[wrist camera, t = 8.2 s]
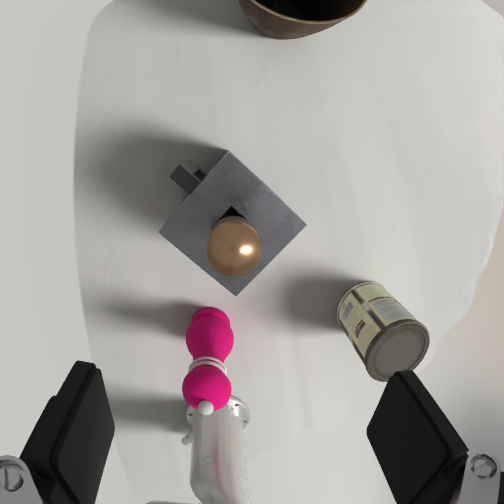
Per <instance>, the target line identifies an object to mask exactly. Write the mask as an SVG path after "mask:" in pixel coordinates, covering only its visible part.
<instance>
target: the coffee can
mask: <svg viewBox="0 0 504 504" xmlns="http://www.w3.org/2000/svg"><path fill="white" fill-rule="evenodd" d="M337 320H338V322H339V324H340V326H341V327H342V328H343V330H344V332H345V333H346V335H347V337H348V338H349V340H350V342H351V343H352V345H353V346H354V348H355V350H356V351H357V353H358V355H359V356H360V358H361V360H362V361H363V363H364V365H365V366H366V370H367V372H368V374H369V375H370V376H371V377H372V378H373V379H375V380H377V381H381V382H388V380H389V378H390V377H391V376H393V374H394V373H395V372H397V371H404V370H414V369H415V368H416V367H417V366H418V365H419V363H420V362H421V361H422V359H423V358H424V356H425V354H426V352H427V350H428V347H429V340H430V338H429V333H428V330H427V329H426V327H425V326H424V325H423V324H421V323H420V322H419V321H418V320H417V319H416V318H415V317H414V316H413V315H412V314H411V313H410V312H408V311H407V310H406V309H405V308H404V307H403V306H402V305H401V304H400V303H399V302H398V301H397V300H396V299H395V298H394V297H393V296H392V295H391V294H390V293H389V292H388V291H387V290H386V289H385V288H384V286H382V285H381V284H379V283H376V282H363V283H360V284H357V285H355V286H354V287H352V288H351V289H349V290H348V291H347V292H346V293H345V294H344V296H343V297H342V299H341V300H340V302H339V305H338V308H337Z"/></svg>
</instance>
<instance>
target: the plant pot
mask: <svg viewBox="0 0 504 504" xmlns="http://www.w3.org/2000/svg"><path fill="white" fill-rule="evenodd" d="M239 2H240V5H241V7H242V9H243V10H244V12H245V14H246V16H247V17H248V19H249V20H250V21H251V23H252V24H253V25H254V26H255V27H256V28H257V29H258V30H259V31H260V32H261V33H263V34H264V35H266V36H268V37H270V38H274V39H295V38H300V37H305V36H308V35H311V34H314V33H317V32H320V31H323V30H325V29H327V28H329V27H332V26H334V25H335V24H337V23H339V22H341V21H343V20H345V19H347V18H349V17H351V16H352V15H354V14H356V13H357V12H358V11H359V10H360V9H361V8H362V7H363V6H364V5H365V3H366V2H367V0H239ZM275 3H277V4H279V5H275Z"/></svg>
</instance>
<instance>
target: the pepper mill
mask: <svg viewBox="0 0 504 504" xmlns="http://www.w3.org/2000/svg"><path fill="white" fill-rule="evenodd" d="M233 340H234V337H233V332H232V329H231V328H230V321H229V319H228V317H227V315H226V314H225V313H224V312H222V311H221V310H219V309H216V308H204V309H201V310H199V311H198V312H197V313H196V314H195V315H194V316H193V318H192V322H191V325H190V326H189V327H188V330H187V333H186V344H187V347H188V350H189V352H190V353H191V355H192V356H193V362H192V363H191V364H190V366H189V371H188V374H187V375H186V377H185V378H184V381H183V385H182V392H183V396H184V398H185V400H186V402H187V403H188V404H189V405H190V406H191V407H193V408H194V409H196V410H198V411H199V412H200V413H201V414H203V415H210V414H211V413H212V412H213V411H216V410H219V409H221V408H222V407H224V406H225V405H226V404H227V402H228V401H229V399H230V396H231V383H230V381H229V379H228V378H227V369H226V367H225V365H224V364H223V363H224V360H225V358H226V357H227V356H228V355H229V353H230V351H231V349H232V346H233Z"/></svg>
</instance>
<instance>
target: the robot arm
mask: <svg viewBox="0 0 504 504" xmlns="http://www.w3.org/2000/svg"><path fill="white" fill-rule="evenodd" d="M186 417H187V421H188V423H189V424H190V425H191V427H192V430H191V431H190V432H189V434H188V435H186V436H185V437H183V438H182V443H183V444H184V445H189V444H190V443H192V453H191V469H190V485H191V488H192V490H193V492H194V494H195V495H196V497H197V498H198V499H199V500H200V501H201V503H202V504H251V503H250V499H249V491H248V482H247V473H246V461H245V449H244V437H243V429H244V428H245V427H246V426H247V425H248V423H249V420H250V413H249V409H248V408H247V406H246V405H245V404H244V403H243V402H242V401H241V400H239V399H237V398H235V397H232V396H230V399H229V401H228V402H227V404H226V405H225V406H224V407H222V408H221V409H219V410H216V411H213V412H212V413H211V414H210V415H203V414H201V413H200V412H199V411H198V410H196V409H194V408H193V407H191V406H190V405H189V406H188V409H187V415H186ZM114 431H115V425H114V421H113V418H112V414H111V410H110V406H109V403H108V399H107V395H106V391H105V386H104V382H103V378H102V373H101V370H100V369H98V368H96V365H95V364H94V363H89V362H83V361H76V362H75V364H74V365H73V367H72V369H71V371H70V372H69V374H68V376H67V378H66V380H65V381H64V383H63V385H62V386H61V388H60V390H59V392H58V394H57V395H56V396H52V397H51V398H50V400H49V401H48V403H47V405H46V407H45V409H44V410H43V412H42V414H41V416H40V418H39V420H38V422H37V424H36V426H35V427H34V429H33V431H32V433H31V435H30V437H29V439H28V441H27V443H26V445H25V447H24V449H23V451H22V453H21V455H20V458H17V457H15V456H9V455H6V456H0V504H95V500H96V496H97V492H98V489H99V485H100V481H101V477H102V474H103V469H104V466H105V463H106V459H107V456H108V452H109V449H110V446H111V442H112V439H113V436H114ZM367 437H368V439H369V441H370V444H371V446H372V448H373V450H374V452H375V455H376V457H377V459H378V462H379V464H380V466H381V468H382V471H383V473H384V475H385V478H386V480H387V482H388V485H389V487H390V489H391V491H392V493H393V496H394V498H395V501H396V503H397V504H504V472H501V468H500V463H499V461H498V460H497V458H496V457H495V456H494V455H492V454H491V453H489V452H486V451H475V452H474V453H472V454H471V455H470V456H468V455H467V451H469V449H468V448H467V446H466V445H465V443H464V442H463V440H462V439H461V437H460V436H459V435H458V433H457V432H456V430H455V429H454V427H453V426H452V424H451V423H450V422H449V420H448V419H447V417H446V416H445V414H444V413H443V412H442V410H441V409H440V407H439V406H438V405H437V403H436V402H435V400H434V399H433V398H432V396H431V395H430V393H429V392H428V391H427V389H426V388H425V387H424V385H423V384H422V382H421V381H420V380H419V378H418V377H417V376H416V374H415V373H414V372H413V371H412V370H404V371H397V372H395V373H394V374H393V376H391V377H390V378H389V380H388V382H387V385H386V387H385V390H384V392H383V394H382V397H381V399H380V401H379V404H378V406H377V408H376V410H375V412H374V415H373V417H372V419H371V421H370V423H369V425H368V427H367ZM146 504H188V503H177V502H167V501H150V502H148V503H146Z"/></svg>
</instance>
